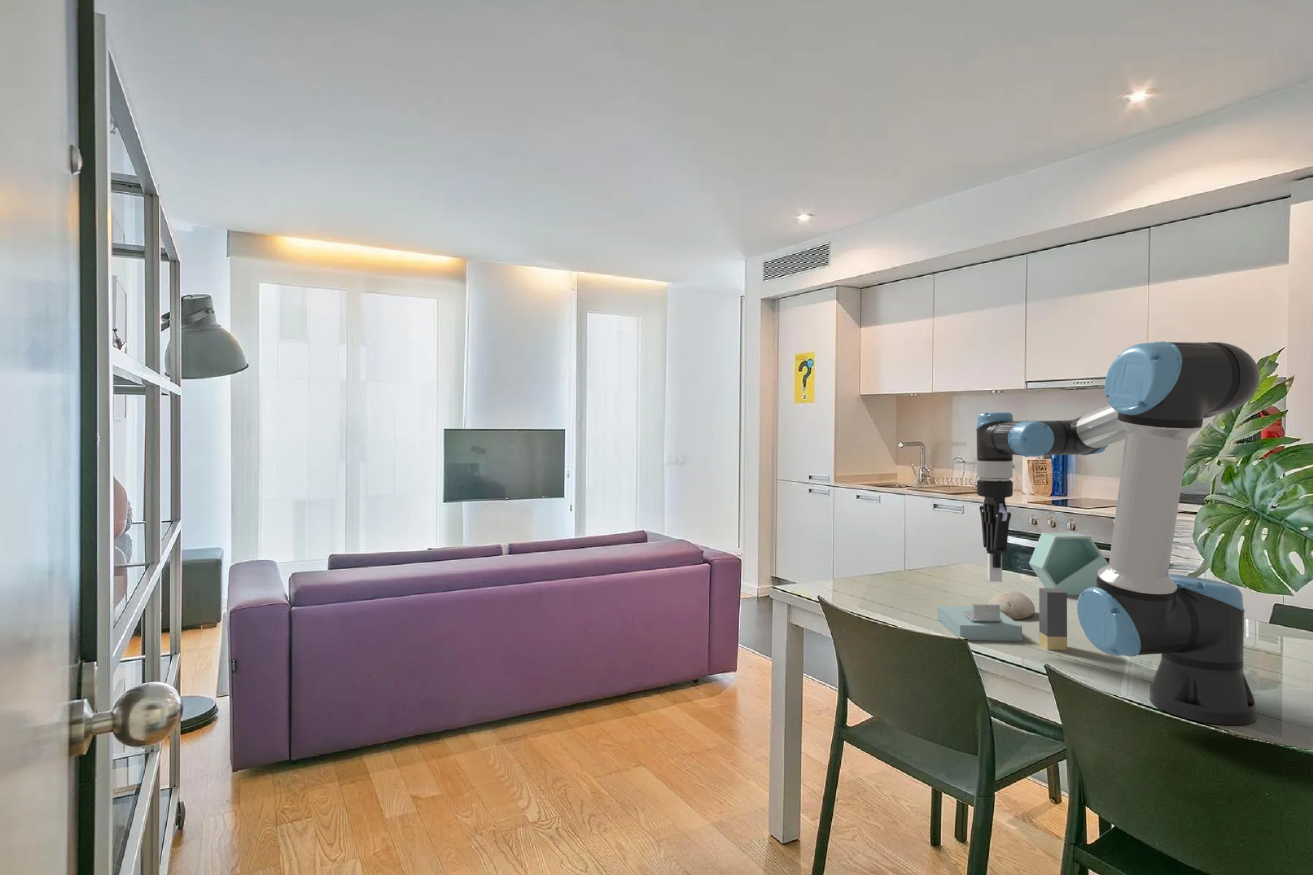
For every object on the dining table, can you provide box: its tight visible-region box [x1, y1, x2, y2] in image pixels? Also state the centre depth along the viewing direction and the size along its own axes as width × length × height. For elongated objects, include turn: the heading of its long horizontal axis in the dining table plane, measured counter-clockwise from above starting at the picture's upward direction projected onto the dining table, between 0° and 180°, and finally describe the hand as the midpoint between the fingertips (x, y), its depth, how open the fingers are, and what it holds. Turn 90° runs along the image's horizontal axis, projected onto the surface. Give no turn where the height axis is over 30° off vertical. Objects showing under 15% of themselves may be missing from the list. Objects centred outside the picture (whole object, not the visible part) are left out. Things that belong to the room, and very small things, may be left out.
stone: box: [987, 590, 1036, 620], centre depth 192 cm, size 13×10×8 cm
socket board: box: [937, 605, 1023, 642], centre depth 178 cm, size 18×14×4 cm
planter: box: [1028, 531, 1109, 596], centre depth 216 cm, size 17×8×21 cm
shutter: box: [963, 603, 1002, 622], centre depth 175 cm, size 7×7×4 cm
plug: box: [1038, 587, 1068, 651], centre depth 164 cm, size 4×4×13 cm
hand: (994, 580), depth 166 cm, fingers closed
